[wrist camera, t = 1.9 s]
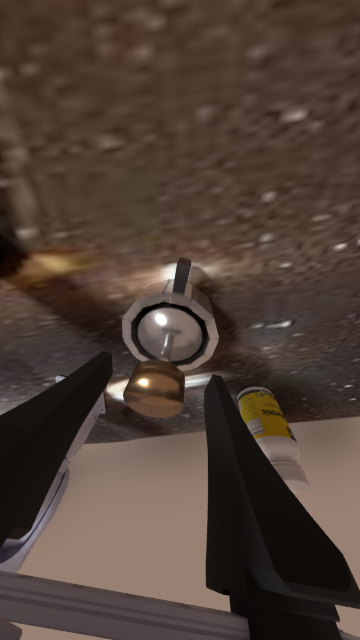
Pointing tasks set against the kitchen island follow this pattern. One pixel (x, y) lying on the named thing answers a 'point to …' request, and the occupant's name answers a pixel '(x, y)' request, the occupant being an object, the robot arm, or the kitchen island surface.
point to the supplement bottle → (273, 435)
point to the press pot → (180, 295)
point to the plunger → (162, 361)
